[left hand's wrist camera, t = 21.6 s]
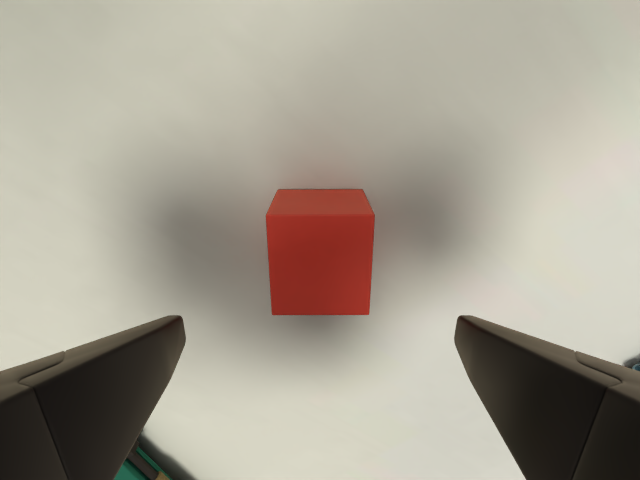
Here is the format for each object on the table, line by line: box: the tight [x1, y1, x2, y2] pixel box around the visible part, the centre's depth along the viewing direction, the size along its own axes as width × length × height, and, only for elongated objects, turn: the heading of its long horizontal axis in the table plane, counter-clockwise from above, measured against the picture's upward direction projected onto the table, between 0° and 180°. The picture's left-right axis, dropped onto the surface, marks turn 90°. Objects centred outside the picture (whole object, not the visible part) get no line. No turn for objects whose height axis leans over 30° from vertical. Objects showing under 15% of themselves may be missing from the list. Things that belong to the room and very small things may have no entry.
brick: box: [266, 189, 375, 315], centre depth 18 cm, size 5×5×4 cm
